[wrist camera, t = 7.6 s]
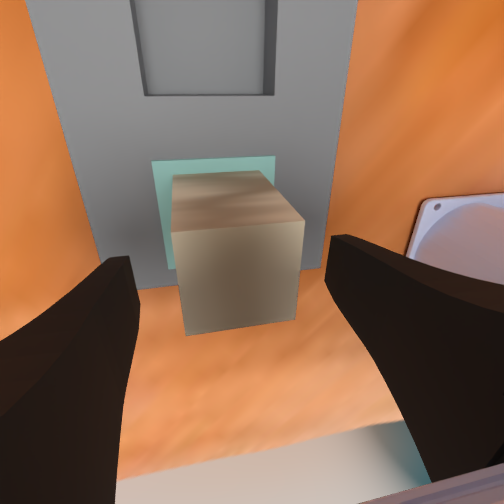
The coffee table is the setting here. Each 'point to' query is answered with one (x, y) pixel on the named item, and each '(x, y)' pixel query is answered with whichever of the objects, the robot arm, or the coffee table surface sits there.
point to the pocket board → (194, 108)
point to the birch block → (234, 251)
